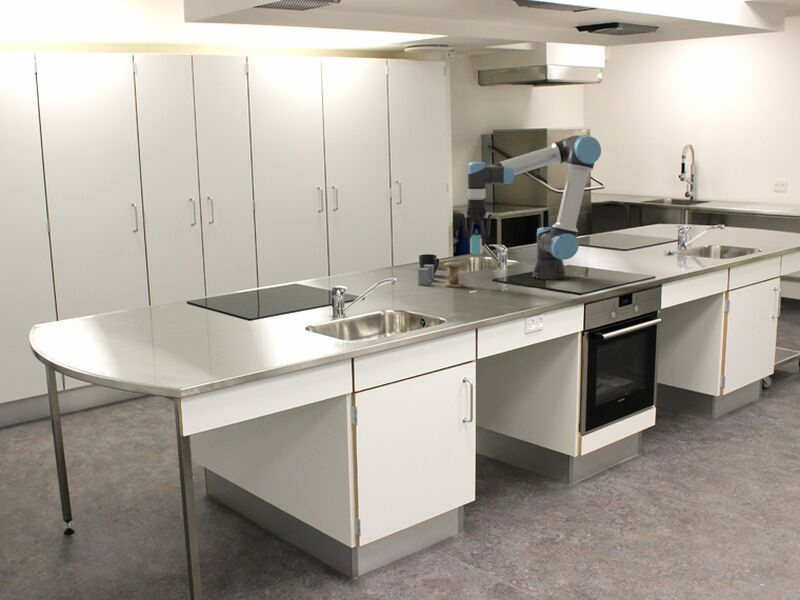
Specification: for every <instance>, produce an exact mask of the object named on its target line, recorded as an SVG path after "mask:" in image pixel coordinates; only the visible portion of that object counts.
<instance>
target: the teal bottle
mask: <svg viewBox="0 0 800 600" xmlns="http://www.w3.org/2000/svg"><path fill="white" fill-rule="evenodd" d="M471 238H472V253H471V255H481V254H480V238H481V234H479V230H478V229H475V230H474V234H472V237H471Z"/></svg>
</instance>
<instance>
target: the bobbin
mask: <svg viewBox="0 0 800 600" xmlns="http://www.w3.org/2000/svg"><path fill="white" fill-rule="evenodd" d="M463 265H464V263H463V262H461V261H459V262H458V261H449V262H444V267H447V268H448V272H449V273H448V276H449V277H448V282H445V283H444V287H445V288H462V287H464V283H463V282H459V267H463Z"/></svg>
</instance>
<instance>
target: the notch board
mask: <svg viewBox="0 0 800 600" xmlns="http://www.w3.org/2000/svg"><path fill="white" fill-rule="evenodd" d="M417 273H418V274H417V275H418V278H417V279H418V280H417V281H418V282H417V283H418V284H417V285H418V286H429V284H430V283H431V284H432V282H433V281H435V274H434V265H424V268H420V267H419V268H418V269H417Z"/></svg>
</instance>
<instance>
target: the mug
mask: <svg viewBox="0 0 800 600" xmlns="http://www.w3.org/2000/svg"><path fill="white" fill-rule="evenodd" d="M418 263H419V269H420V268H424V265H434V275H435V274H436V272H437V270H438V268H439V265H440V259H439V258H437V254H433V253H432V254H429V253H428V254H426V253H425V254H420V255H418Z"/></svg>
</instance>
